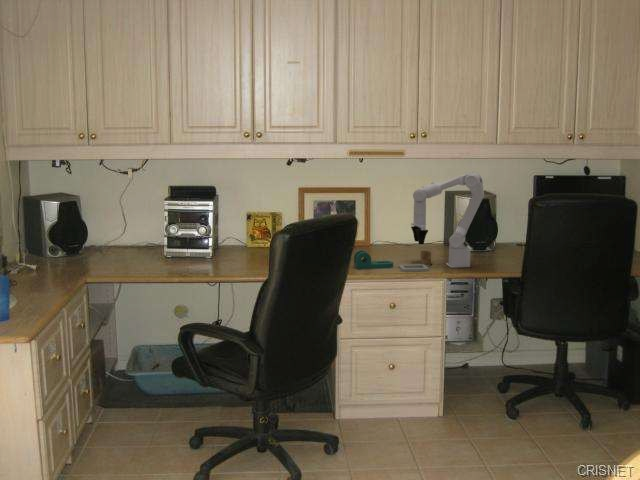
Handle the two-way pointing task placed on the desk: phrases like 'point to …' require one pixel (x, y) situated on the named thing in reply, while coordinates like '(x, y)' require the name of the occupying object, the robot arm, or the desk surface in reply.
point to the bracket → (369, 261)
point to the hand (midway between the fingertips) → (419, 242)
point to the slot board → (413, 267)
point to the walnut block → (425, 257)
